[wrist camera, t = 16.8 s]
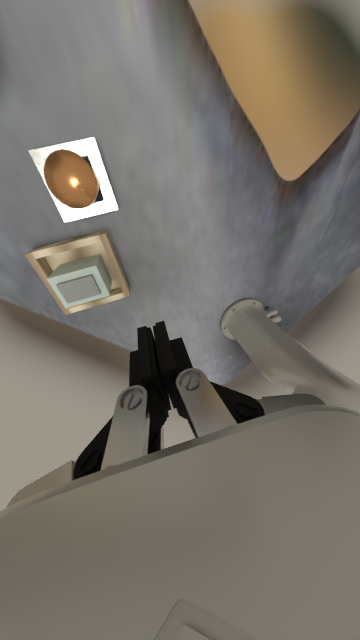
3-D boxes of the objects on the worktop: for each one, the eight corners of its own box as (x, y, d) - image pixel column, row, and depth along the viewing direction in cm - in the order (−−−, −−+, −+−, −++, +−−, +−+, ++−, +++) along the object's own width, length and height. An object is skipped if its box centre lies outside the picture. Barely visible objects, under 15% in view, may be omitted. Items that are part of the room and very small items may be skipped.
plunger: (91, 155, 26) (83, 144, 21) (108, 201, 29) (105, 202, 24) (50, 164, 25) (32, 155, 20) (72, 210, 29) (61, 213, 23)
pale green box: (59, 264, 32) (44, 281, 25) (100, 253, 32) (95, 267, 26) (74, 290, 35) (64, 311, 28) (112, 279, 35) (109, 297, 29)
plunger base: (96, 142, 26) (94, 137, 23) (118, 208, 30) (118, 209, 28) (37, 155, 25) (28, 150, 23) (69, 220, 30) (64, 222, 27)
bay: (107, 229, 32) (105, 233, 28) (129, 287, 38) (130, 295, 35) (34, 248, 30) (24, 254, 27) (70, 304, 37) (65, 314, 34)
